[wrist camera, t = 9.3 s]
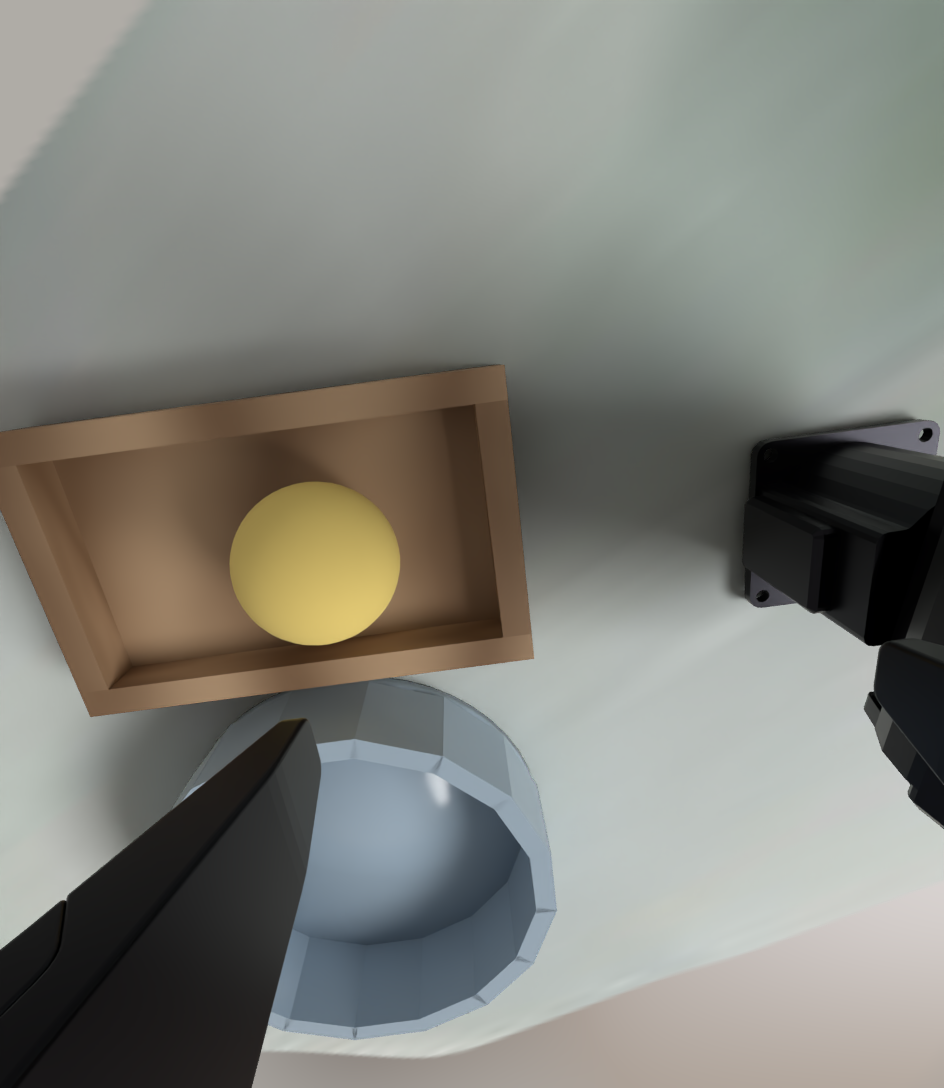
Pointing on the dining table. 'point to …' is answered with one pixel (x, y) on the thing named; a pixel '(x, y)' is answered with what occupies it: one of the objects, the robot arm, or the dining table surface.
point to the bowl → (405, 860)
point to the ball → (314, 563)
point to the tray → (222, 504)
